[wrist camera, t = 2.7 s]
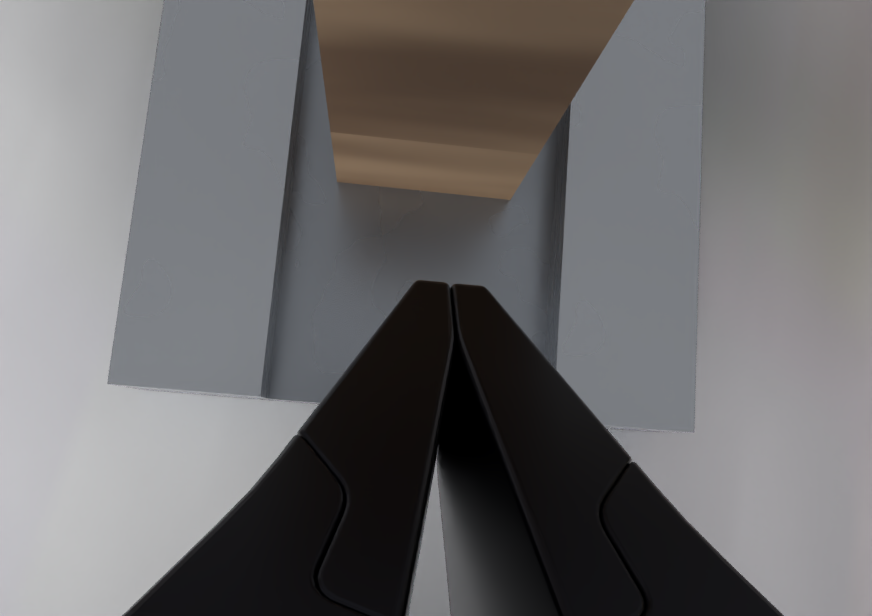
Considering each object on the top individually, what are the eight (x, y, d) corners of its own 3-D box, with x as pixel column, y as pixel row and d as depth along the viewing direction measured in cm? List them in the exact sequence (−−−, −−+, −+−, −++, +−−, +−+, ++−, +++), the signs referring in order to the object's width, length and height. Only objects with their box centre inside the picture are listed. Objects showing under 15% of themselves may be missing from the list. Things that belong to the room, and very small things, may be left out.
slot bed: (655, 431, 18) (693, 432, 16) (140, 389, 17) (107, 383, 15) (678, -245, 21) (713, -322, 19) (238, -311, 20) (222, -399, 18)
